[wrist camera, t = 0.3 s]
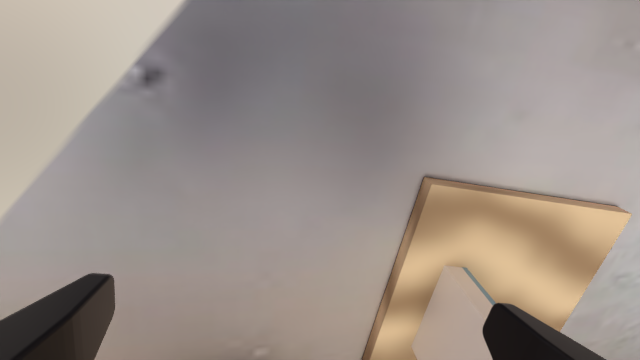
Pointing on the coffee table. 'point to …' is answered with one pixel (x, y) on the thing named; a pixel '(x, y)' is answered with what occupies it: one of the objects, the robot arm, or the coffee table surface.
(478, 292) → the tile
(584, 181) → the coffee table surface
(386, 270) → the coffee table surface
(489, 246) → the board
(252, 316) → the coffee table surface
